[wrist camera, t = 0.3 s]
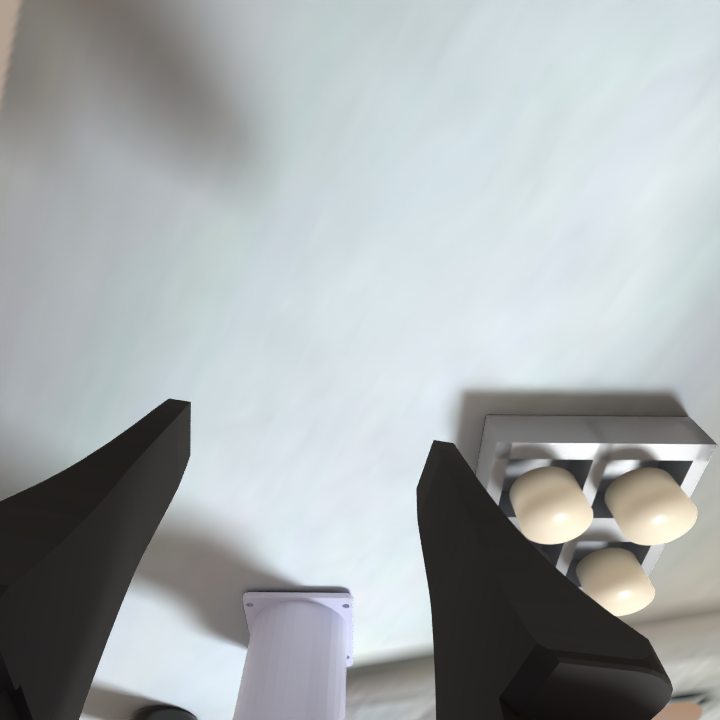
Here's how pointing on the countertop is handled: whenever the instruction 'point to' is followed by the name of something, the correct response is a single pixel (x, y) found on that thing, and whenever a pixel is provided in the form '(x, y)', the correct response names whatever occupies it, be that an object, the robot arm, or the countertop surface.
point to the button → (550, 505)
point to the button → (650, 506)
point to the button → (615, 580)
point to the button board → (590, 468)
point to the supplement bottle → (162, 714)
